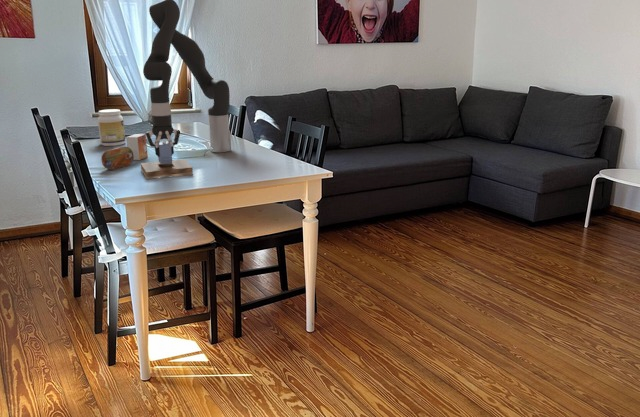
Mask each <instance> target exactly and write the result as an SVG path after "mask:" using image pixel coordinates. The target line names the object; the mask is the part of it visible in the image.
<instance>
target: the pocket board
mask: <svg viewBox="0 0 640 417" xmlns="http://www.w3.org/2000/svg"><path fill="white" fill-rule="evenodd" d="M140 170H141V172H142V174H143V173H144V174H143V175H144V177H145V176H146V177H145V178H147V179H146V180H151V179H150V178H157V179H160V178H159V177H166V178H170V177H169V176H175V177H182V176H181V175H185V176H192V175H193V174H194V172H193V167H192V165H191V164H190V163H188V162H187V161H186V159H184V158H183V159H182V158H181V159H174V160H173V159H172V164H163V165H161V164H160V163H159V161H151V162H141V163H140Z"/></svg>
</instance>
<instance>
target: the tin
mask: <svg viewBox="0 0 640 417" xmlns="http://www.w3.org/2000/svg"><path fill="white" fill-rule="evenodd" d="M133 157H134V156H133V152H132V150H131V149H130V148H129V147H127V146H119V147H115V148H112V149H106V150H105V151H104V152H103V153H102V155H101V163H102V166H103V168H104V169H107V170H111V171H114V169H115V170H118V169H121V168H122V169H123V168H126V167H130V165H131V164H132V163H133V161H134V160H133Z"/></svg>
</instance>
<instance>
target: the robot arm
mask: <svg viewBox="0 0 640 417" xmlns="http://www.w3.org/2000/svg"><path fill="white" fill-rule="evenodd" d="M180 10H181V9H180V7H179V5H178V3H177V2H176V1H175V0H161V1H158V2H156V3H153V4H151V5H150V6H149V8H148V12H149V16H150V17H151V20H152V21H153V23H154V24H155V26H156V27H157V28H158V29H159V30H158V31H157V33H156V35H155V36H154V38H153V41H152V44H151V49H150V50H151V51H150V53H149V56H148V57H147V60H146V61H145V63H144V66H143V70H142V71H143V73H142V74H143V76H144V78H145V79H146V80H148V81H152V82H153V81H157V82H159V81H161V82H162V83H161V85H158V86H154V87H151V88H150V90H149V92H150V104H151V105H150V111H151V112H150V114H151V123H152V124H151V125H152V128H151V130H149V131H145V132H144V134H146V140H147V141H148V143H149V145H150V147H151V148H152V147H153V148H154V151H155V152H154V153H155V155H156V156H157V158H158V157H160V154H159V147H158V146H159V142H161V140H167V141H168V142H169V143H170V144H171V152H172V155H174V154H175V149H174V146H177V145H179V139H180V136H181V135H180V134H181V130H180V129H175V128H173V122H172V110H171V109H172V108H171V104H170V92H169V91H170V82H171V77H172V72H173V70H172V67H171V65H170V63H169V62H168V61H169V59H170V52H171V45H172V47H173V48H174V49H175V51H176V53H177V54H178V56H179V57H180V58H181V60H182V61H183V63H184V65H185V66H186V67H187V69H189V71H190V73H191V74H192V76H193V77H194V79H195V81H196V83H197V84H198V86H199V88H200V89H201V92H202V93H203V94H204V96H205V98H207V99H209V100H213V105H212V106H211V107H209V108H208V109H207V115H208V131H209V147H212V148H213V149H212V150H211V149H210V152H213V153H226V152H231V151H232V136H231V134H232V133H231V130H230V123H229V122H230V121H229V109H230V98H231V97H230V86H229V84H228V82H227V81H225V80H223V79H214V77H213V76H212V75H211V74H210V73H209V71H208V69H207V67H206V58H205V55H204V53H203V51H202V49H201V48H200V45H199V44H198V43H197V42H196V41H195V40H194V39H192V37H190V36H187V35H186V34H183V33H182V32H180V31H179V30H177V26H178V23H179V20H180V16H181V12H180ZM172 134H174V138H173V140H172V138H171V136H172ZM153 135H154V137H155V142H153V140H152V136H153Z"/></svg>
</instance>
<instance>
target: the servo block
mask: <svg viewBox="0 0 640 417" xmlns="http://www.w3.org/2000/svg"><path fill="white" fill-rule="evenodd" d="M158 147H159V154H160V157H158V156H157V158H158V162H159V163H160V164H161V165H163V164H172V160H173V154H172V152H171V144H170V143H169V142H168V140H167V141H160V142H159V146H158Z"/></svg>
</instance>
